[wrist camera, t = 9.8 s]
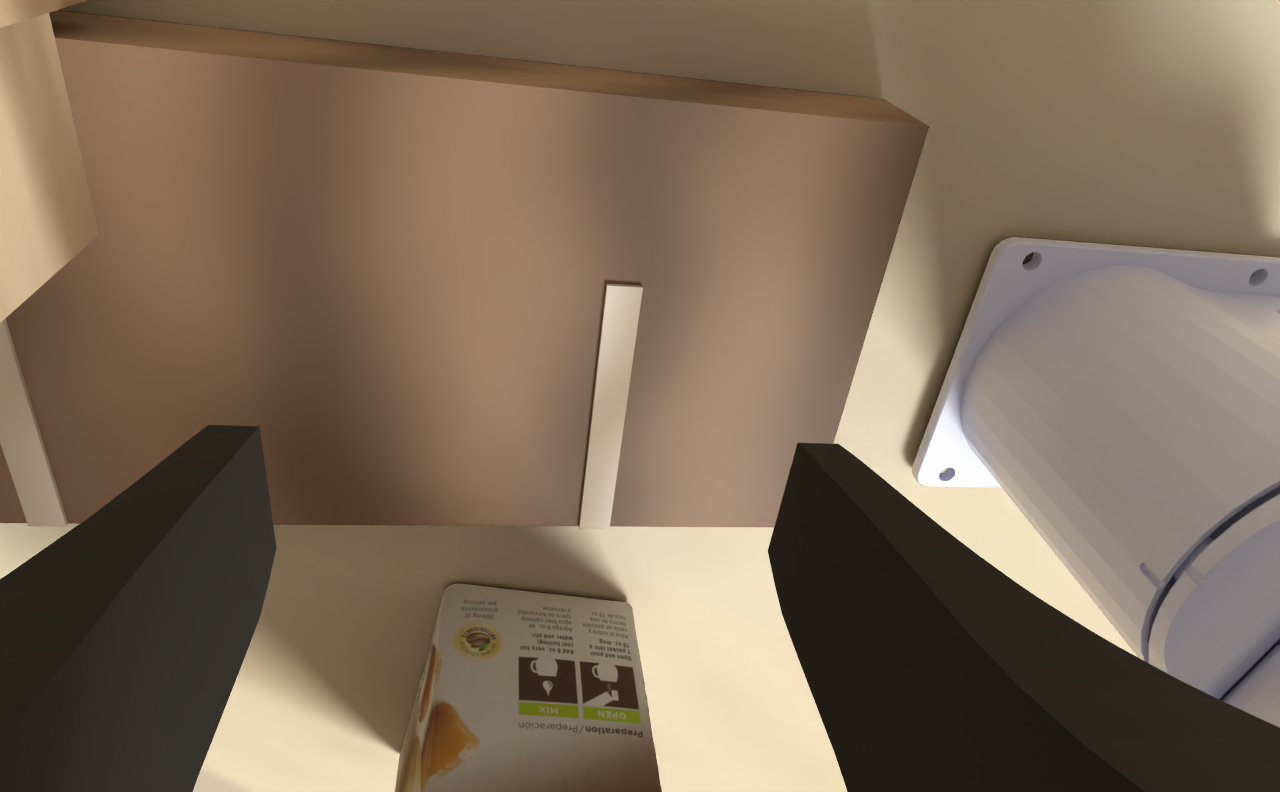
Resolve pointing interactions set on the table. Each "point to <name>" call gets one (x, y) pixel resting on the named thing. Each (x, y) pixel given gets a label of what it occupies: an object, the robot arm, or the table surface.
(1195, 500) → the robot arm
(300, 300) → the walnut board
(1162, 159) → the table surface
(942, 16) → the table surface
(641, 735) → the coffee box
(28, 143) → the beige block
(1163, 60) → the table surface
